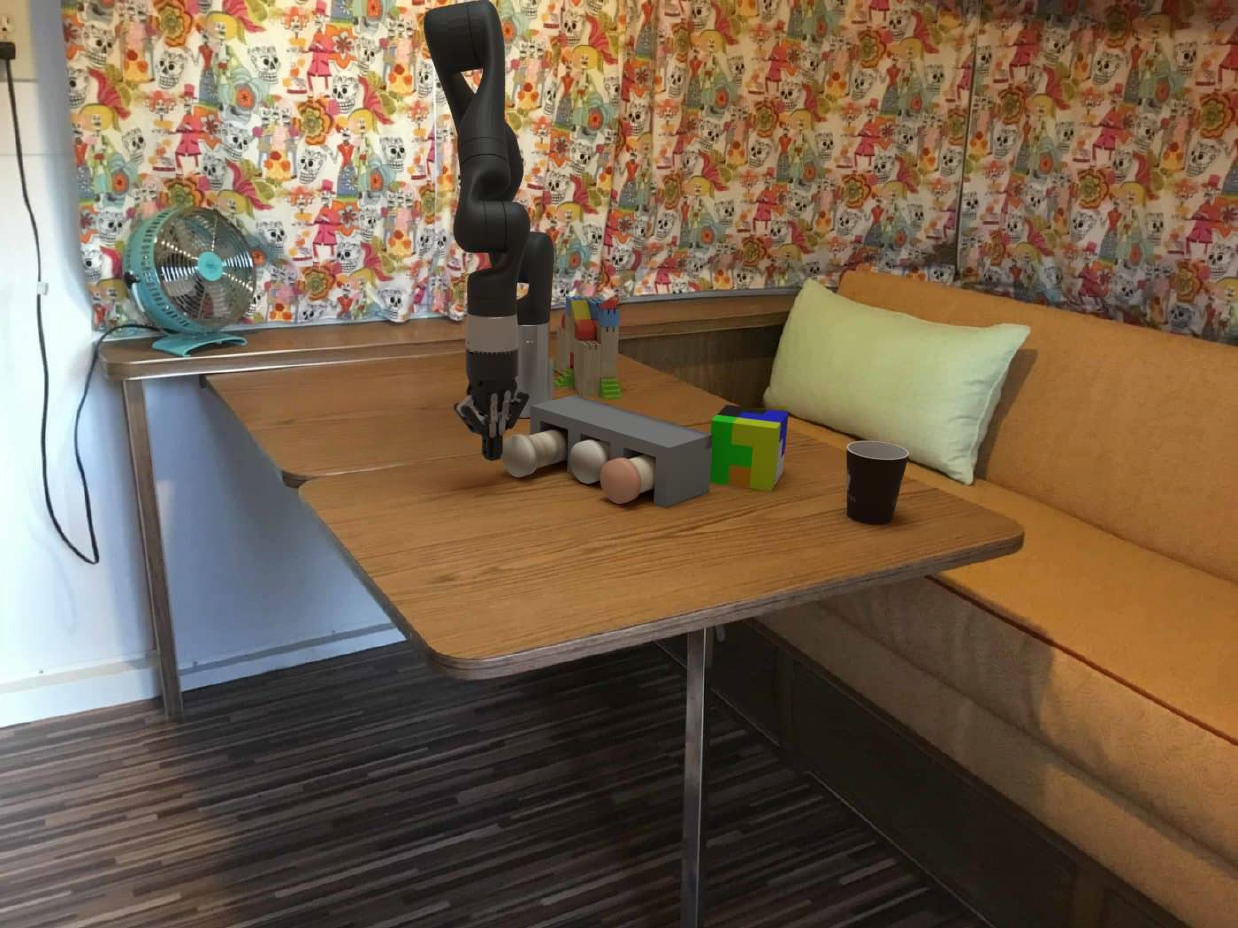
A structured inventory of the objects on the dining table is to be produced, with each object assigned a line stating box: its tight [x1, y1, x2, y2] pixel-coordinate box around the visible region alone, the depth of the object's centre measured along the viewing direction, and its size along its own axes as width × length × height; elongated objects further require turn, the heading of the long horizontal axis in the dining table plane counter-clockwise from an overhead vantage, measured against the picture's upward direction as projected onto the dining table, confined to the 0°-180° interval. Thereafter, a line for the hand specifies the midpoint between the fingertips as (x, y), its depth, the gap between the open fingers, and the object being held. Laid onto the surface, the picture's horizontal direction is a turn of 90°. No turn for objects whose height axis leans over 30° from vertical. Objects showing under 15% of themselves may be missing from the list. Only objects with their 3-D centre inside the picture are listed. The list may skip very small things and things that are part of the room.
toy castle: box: [552, 295, 628, 401], centre depth 212 cm, size 28×14×19 cm, turn 18°
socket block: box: [529, 395, 713, 508], centre depth 158 cm, size 10×29×9 cm, turn 47°
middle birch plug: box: [570, 440, 611, 485], centre depth 157 cm, size 10×6×6 cm, turn 137°
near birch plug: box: [501, 428, 568, 478], centre depth 159 cm, size 10×6×6 cm, turn 137°
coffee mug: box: [845, 440, 910, 526], centre depth 146 cm, size 12×9×10 cm
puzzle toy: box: [710, 404, 789, 492], centre depth 160 cm, size 10×10×10 cm
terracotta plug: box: [600, 454, 656, 505], centre depth 150 cm, size 10×6×6 cm, turn 137°
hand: (492, 459), depth 152 cm, fingers closed
